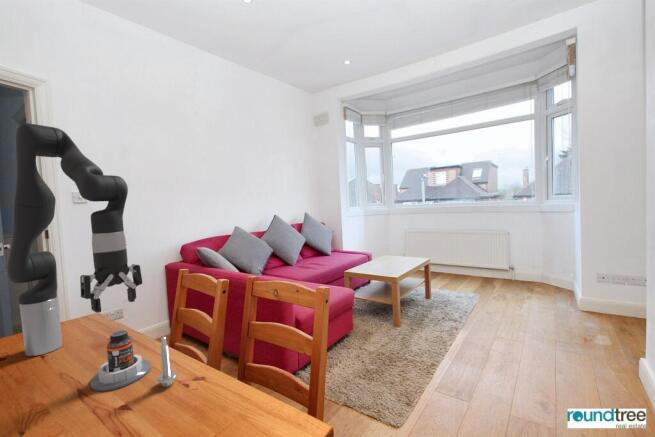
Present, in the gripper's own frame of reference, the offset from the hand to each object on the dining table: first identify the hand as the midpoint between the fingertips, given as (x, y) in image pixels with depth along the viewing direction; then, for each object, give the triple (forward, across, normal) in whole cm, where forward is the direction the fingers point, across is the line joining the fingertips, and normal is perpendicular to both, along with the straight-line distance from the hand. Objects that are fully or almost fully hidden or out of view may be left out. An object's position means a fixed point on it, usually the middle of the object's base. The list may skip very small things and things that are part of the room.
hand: (115, 306), depth 83 cm
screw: (+20, -3, +16) cm, 26 cm away
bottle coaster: (+20, 0, 0) cm, 20 cm away
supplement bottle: (+19, 0, 0) cm, 19 cm away
